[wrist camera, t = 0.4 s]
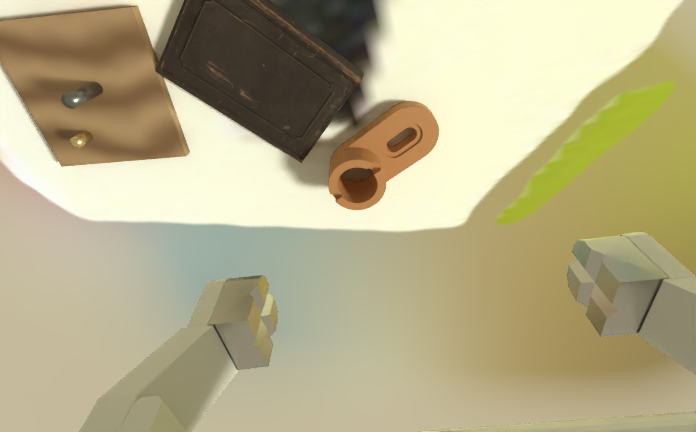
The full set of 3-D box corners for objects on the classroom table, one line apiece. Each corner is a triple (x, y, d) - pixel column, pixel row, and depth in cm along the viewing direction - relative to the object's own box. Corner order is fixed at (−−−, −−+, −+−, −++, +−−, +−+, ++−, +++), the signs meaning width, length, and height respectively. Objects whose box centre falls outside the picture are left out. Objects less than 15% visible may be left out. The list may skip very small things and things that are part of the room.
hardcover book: (302, 156, 59) (301, 162, 57) (162, 67, 51) (155, 71, 49) (363, 71, 52) (364, 75, 50) (210, -48, 44) (203, -48, 42)
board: (-12, 21, 48) (-22, 23, 46) (137, 6, 47) (132, 7, 45) (67, 162, 59) (61, 166, 58) (189, 152, 58) (186, 156, 57)
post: (86, 82, 50) (58, 95, 46) (99, 81, 50) (72, 93, 45) (93, 95, 51) (65, 109, 47) (105, 94, 51) (79, 108, 46)
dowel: (79, 131, 54) (66, 138, 52) (89, 130, 54) (77, 138, 52) (84, 141, 55) (71, 149, 53) (94, 140, 55) (82, 148, 53)
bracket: (352, 195, 63) (352, 218, 57) (320, 160, 59) (316, 181, 53) (445, 132, 56) (456, 151, 50) (415, 89, 53) (423, 104, 47)
